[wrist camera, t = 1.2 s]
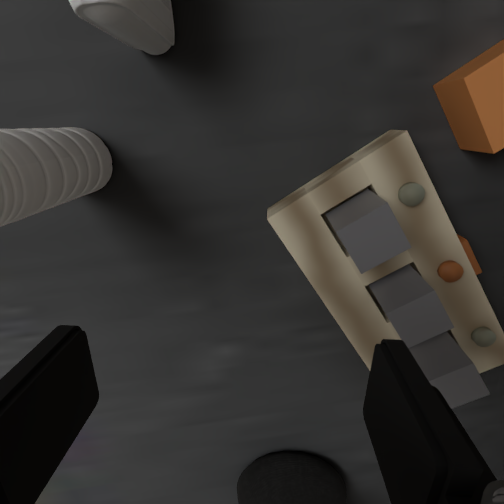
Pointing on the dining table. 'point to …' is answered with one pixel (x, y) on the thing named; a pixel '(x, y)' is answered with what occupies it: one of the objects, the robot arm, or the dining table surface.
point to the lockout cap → (476, 101)
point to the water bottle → (48, 169)
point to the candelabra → (290, 481)
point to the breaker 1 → (368, 230)
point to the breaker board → (418, 257)
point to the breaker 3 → (449, 370)
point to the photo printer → (132, 21)
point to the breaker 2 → (411, 306)
